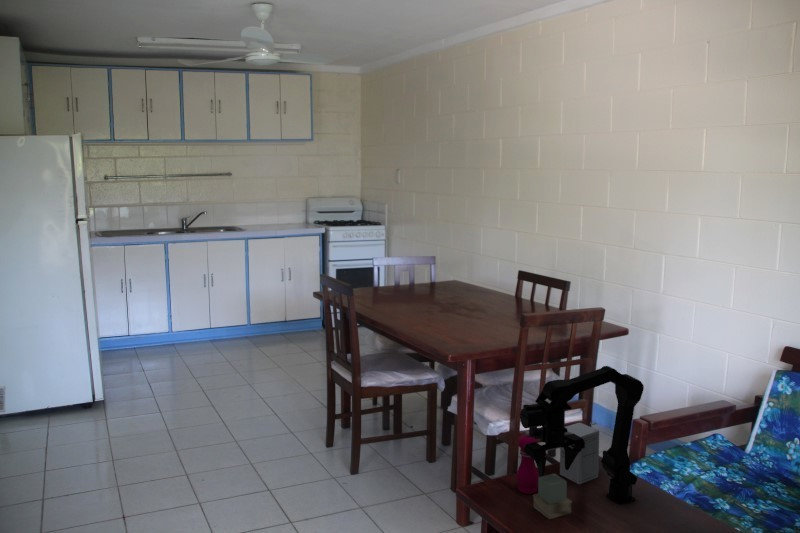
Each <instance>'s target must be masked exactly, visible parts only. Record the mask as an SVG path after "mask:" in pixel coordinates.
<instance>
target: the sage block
mask: <svg viewBox="0 0 800 533" xmlns="http://www.w3.org/2000/svg"><path fill="white" fill-rule="evenodd" d="M567 484H568V483H567V480H565V479H564V478H563V477H561V476H559V475H558V474H557V473H551V474H547V475H546V474H545V475H544V476H539V477H538V482H537V491H538V492H537V494H538V496H539V497H541V498H542V499H543V500H545V501H546V502H547V503H549V504H554V503H557V502H561V501H565V500H566V497H567V493H568V492H567V490H568V488H567Z"/></svg>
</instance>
